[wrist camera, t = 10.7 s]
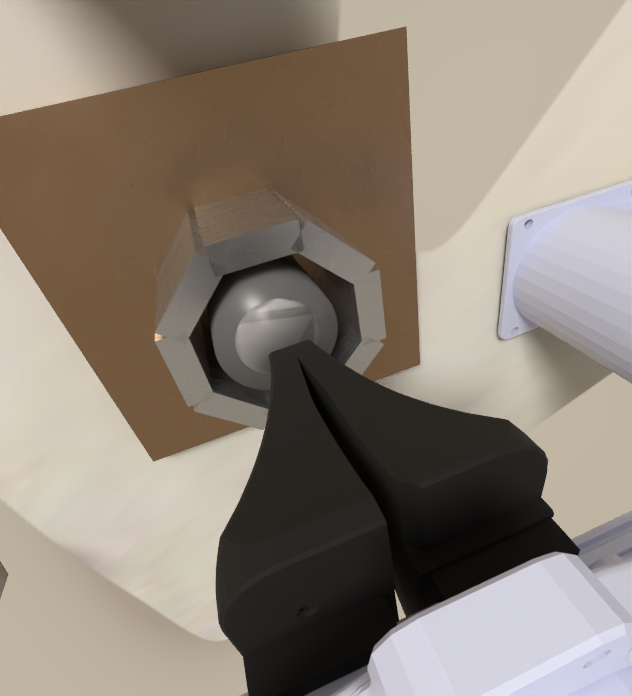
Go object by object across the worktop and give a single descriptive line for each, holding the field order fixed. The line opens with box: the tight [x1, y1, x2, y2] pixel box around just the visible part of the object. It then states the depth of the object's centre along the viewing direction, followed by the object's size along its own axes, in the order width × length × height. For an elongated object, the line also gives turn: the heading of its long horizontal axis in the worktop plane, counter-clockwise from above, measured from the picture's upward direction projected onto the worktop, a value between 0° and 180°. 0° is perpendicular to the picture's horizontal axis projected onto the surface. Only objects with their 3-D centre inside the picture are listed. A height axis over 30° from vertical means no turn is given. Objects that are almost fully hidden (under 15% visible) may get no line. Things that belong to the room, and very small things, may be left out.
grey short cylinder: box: [206, 255, 338, 390], centre depth 16 cm, size 4×4×5 cm
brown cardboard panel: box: [0, 27, 420, 461], centre depth 16 cm, size 16×16×6 cm
